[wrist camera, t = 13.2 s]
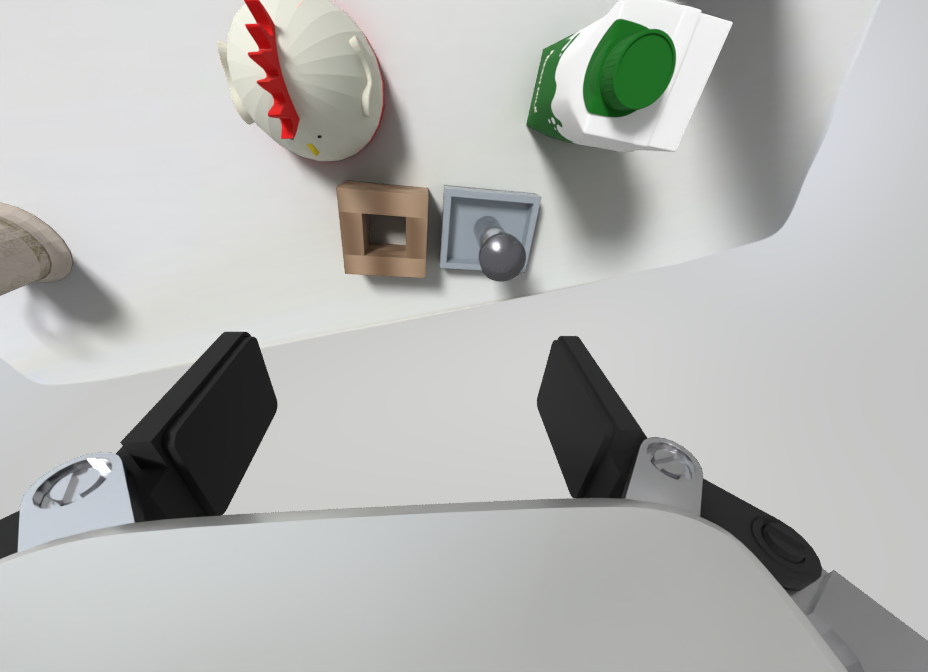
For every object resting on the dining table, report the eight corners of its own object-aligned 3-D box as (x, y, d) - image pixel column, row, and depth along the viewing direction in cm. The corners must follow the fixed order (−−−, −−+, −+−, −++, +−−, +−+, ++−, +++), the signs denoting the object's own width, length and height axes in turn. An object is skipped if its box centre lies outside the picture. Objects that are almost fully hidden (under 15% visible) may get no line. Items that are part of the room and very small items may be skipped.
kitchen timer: (274, 162, 38) (202, 184, 26) (220, -3, 31) (81, -85, 18) (394, 155, 39) (380, 173, 27) (371, -8, 32) (336, -89, 19)
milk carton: (537, 35, 34) (642, -41, 18) (615, 55, 36) (779, 1, 19) (516, 133, 39) (585, 144, 22) (586, 146, 41) (698, 166, 24)
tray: (535, 193, 43) (541, 197, 41) (520, 266, 48) (525, 272, 46) (444, 185, 41) (445, 188, 39) (439, 261, 47) (440, 267, 45)
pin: (508, 211, 43) (530, 238, 34) (501, 248, 46) (520, 282, 37) (470, 208, 43) (483, 234, 33) (466, 246, 45) (477, 280, 36)
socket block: (427, 187, 41) (428, 195, 37) (425, 263, 47) (425, 277, 43) (345, 180, 40) (336, 187, 36) (352, 259, 45) (345, 273, 41)
